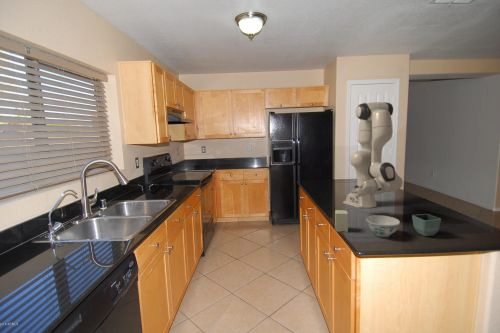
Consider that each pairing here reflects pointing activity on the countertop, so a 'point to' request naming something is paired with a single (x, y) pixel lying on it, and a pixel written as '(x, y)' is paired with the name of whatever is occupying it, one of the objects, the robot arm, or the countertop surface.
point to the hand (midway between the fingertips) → (351, 191)
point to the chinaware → (383, 225)
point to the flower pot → (426, 224)
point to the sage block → (341, 220)
